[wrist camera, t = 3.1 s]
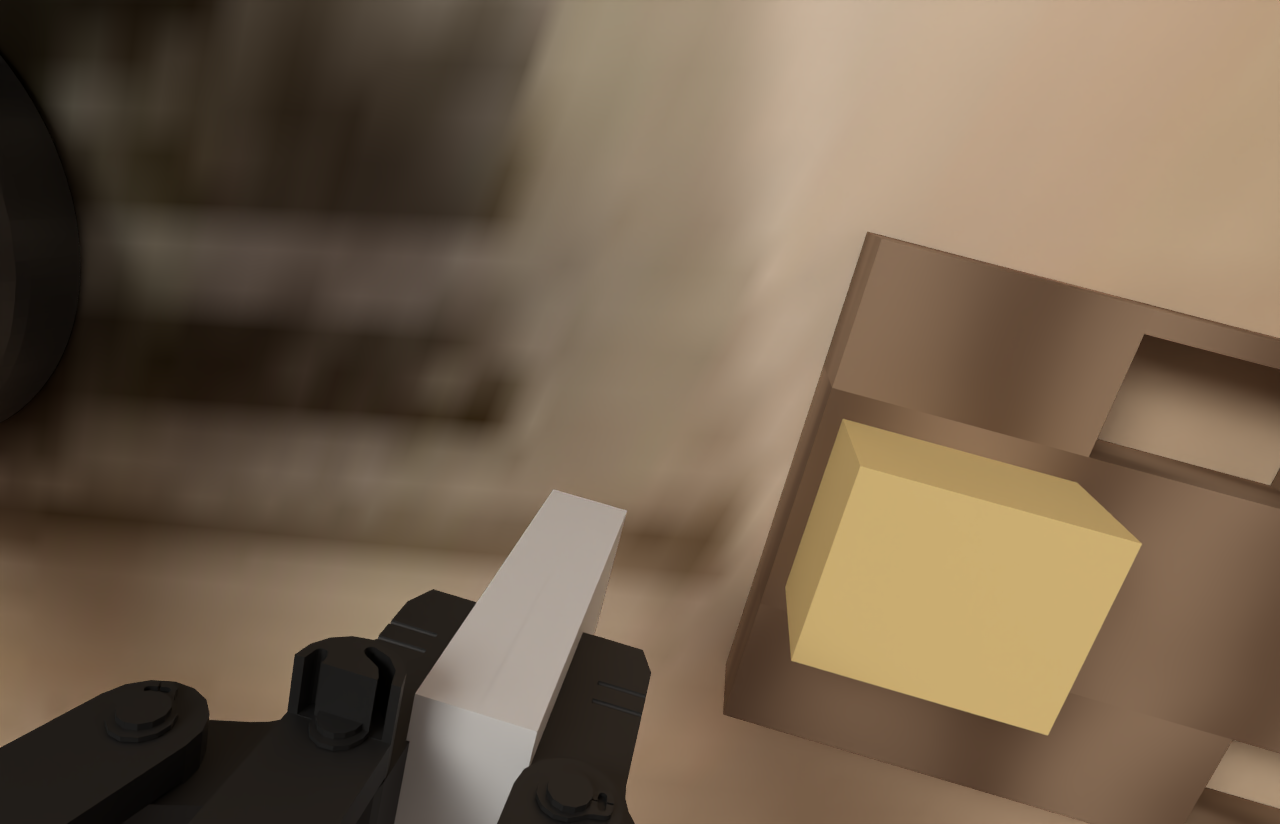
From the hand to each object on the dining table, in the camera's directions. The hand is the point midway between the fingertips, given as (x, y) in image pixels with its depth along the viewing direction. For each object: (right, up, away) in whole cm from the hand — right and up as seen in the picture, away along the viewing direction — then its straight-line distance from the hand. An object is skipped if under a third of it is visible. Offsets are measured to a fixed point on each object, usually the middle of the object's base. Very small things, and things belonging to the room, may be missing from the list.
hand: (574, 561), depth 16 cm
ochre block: (+9, 0, +5) cm, 10 cm away
